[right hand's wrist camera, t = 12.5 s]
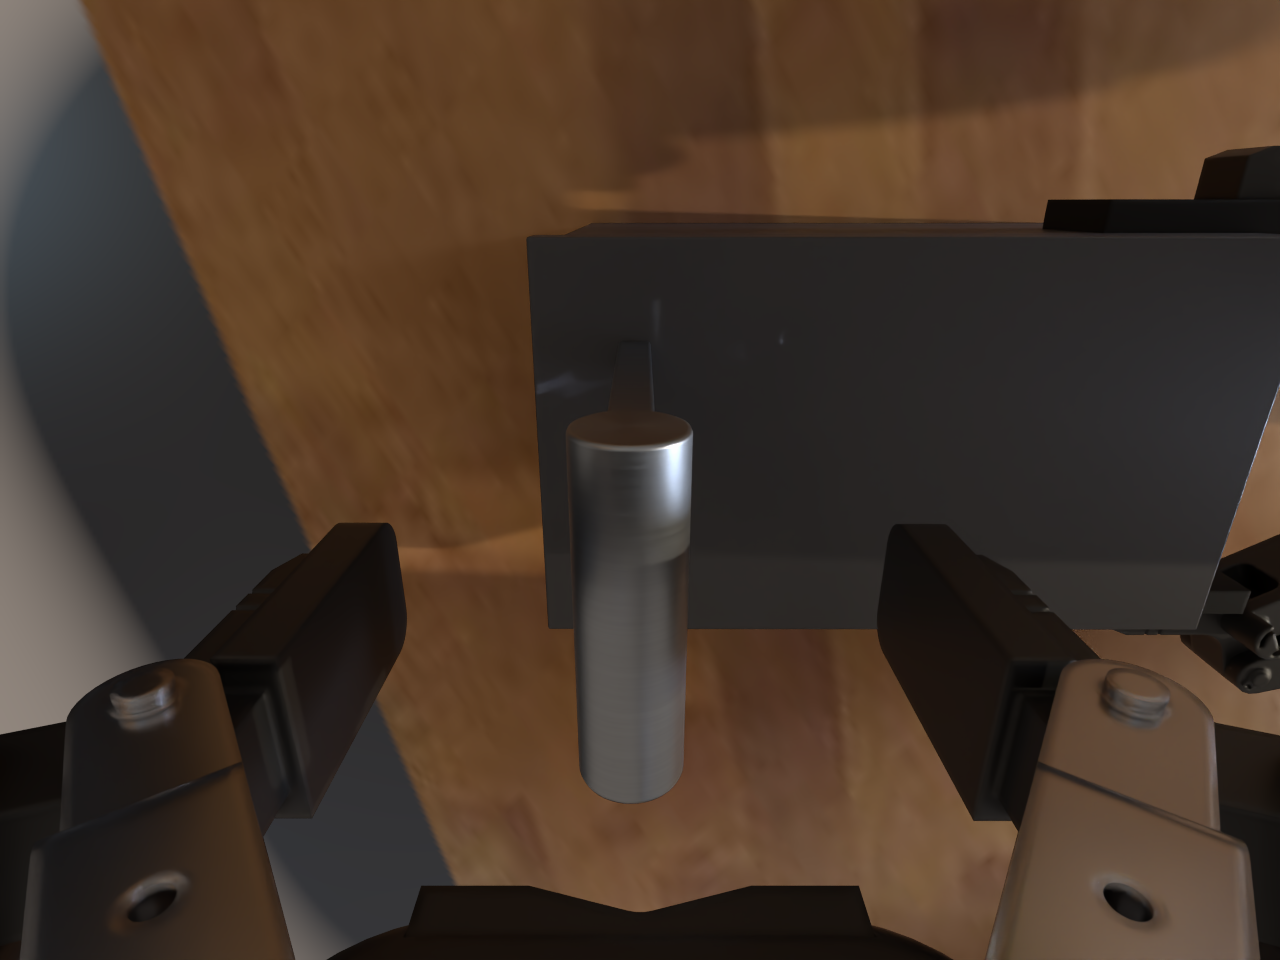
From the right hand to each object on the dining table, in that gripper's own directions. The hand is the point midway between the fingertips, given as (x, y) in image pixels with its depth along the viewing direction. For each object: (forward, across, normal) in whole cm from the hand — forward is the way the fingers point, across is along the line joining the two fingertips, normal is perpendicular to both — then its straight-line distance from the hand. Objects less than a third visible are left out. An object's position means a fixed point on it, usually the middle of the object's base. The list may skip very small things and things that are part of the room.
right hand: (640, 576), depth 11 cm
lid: (+7, -6, 0) cm, 9 cm away
